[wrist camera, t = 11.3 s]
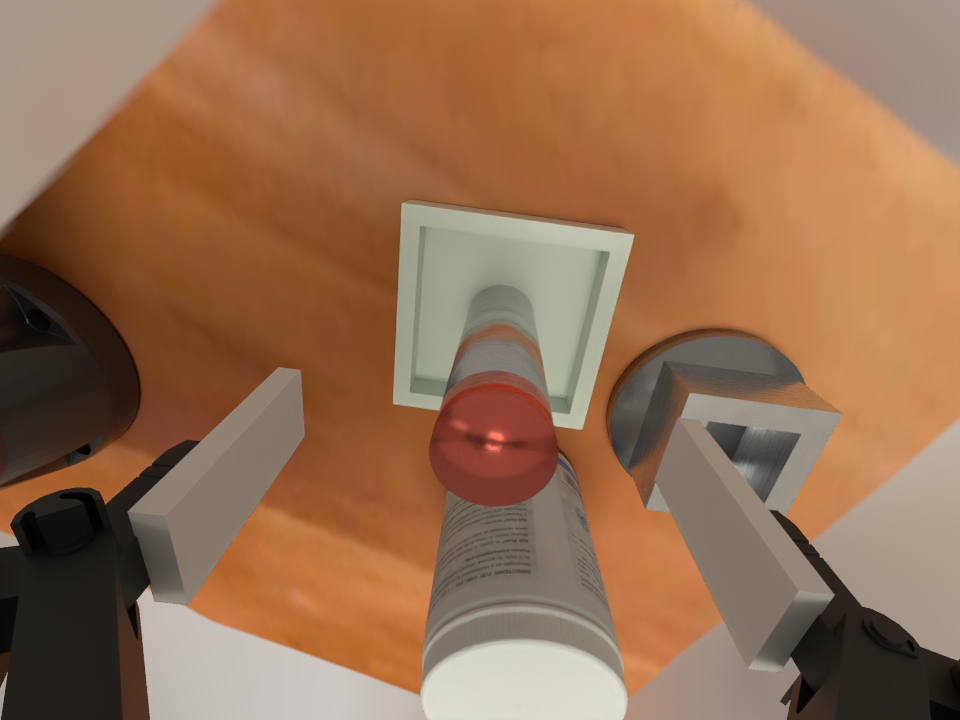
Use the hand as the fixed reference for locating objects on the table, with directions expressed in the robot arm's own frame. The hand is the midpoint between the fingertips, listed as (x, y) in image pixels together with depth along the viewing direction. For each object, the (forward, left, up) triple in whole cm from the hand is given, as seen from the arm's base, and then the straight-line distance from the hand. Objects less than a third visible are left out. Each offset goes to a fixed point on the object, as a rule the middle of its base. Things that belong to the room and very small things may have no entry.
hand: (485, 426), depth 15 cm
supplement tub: (+3, -13, -13) cm, 19 cm away
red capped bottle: (0, 0, -12) cm, 12 cm away
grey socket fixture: (+14, -5, -13) cm, 20 cm away
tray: (0, 0, -13) cm, 13 cm away
